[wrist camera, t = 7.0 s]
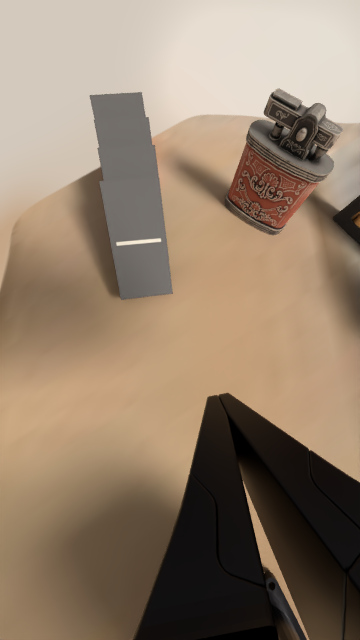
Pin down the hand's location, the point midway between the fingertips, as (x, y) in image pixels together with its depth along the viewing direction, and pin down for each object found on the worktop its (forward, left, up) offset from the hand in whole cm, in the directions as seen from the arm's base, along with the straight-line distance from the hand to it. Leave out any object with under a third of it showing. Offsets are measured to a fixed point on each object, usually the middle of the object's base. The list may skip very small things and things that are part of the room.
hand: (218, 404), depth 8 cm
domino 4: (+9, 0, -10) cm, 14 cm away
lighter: (+14, -17, -11) cm, 24 cm away
